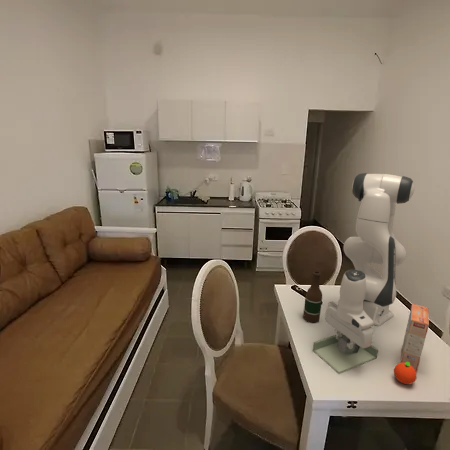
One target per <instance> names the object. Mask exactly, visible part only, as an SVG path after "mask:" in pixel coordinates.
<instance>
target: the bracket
mask: <svg viewBox="0 0 450 450" xmlns="http://www.w3.org/2000/svg"><path fill="white" fill-rule="evenodd" d="M347 343H350V339H349V338H341V337H340V339H339V342H338V344H337V347H338V348H339V349H340V350H342V351H343V352H344V353H358V350H359V348H360V346H359V345H357V344H356V343H355V344H354V345H353V348H352V349H349V348H348V347H347Z"/></svg>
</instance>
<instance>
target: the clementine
mask: <svg viewBox="0 0 450 450" xmlns="http://www.w3.org/2000/svg"><path fill="white" fill-rule="evenodd" d="M393 373H394V376H395V378H396V379H397V381H399V382H400V383H401V384H405V385H410V384H411V385H412V384H413V383H414V382H415V381H416V380H417V373H416V371H415V369H414V368H413V367H412V366H411V365H410V362H406V363H403V362H402V363H400V362H399V363H397V364H396V365H395V366H394V368H393Z"/></svg>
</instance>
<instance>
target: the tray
mask: <svg viewBox="0 0 450 450" xmlns="http://www.w3.org/2000/svg"><path fill="white" fill-rule="evenodd" d="M341 335H342V336H343V337H342V338H348V337H346V336H345V335H343V334H342V333H341ZM336 336H337V335H336V334H333V335H331V336H327V337H325V338H322V339H319V340H315V341H313V344H312V345H313V347H312V352H314V353H315V354H316V355H317V356H318V357H320V359H321V360H323V362H325V363H326V364H327V365H328V366H329V367H331V369H333V370H334V371H335V372H336V373H337V374H338V375H340V374H342V373H344V372H347V371H349V370H352V369H355V368H356V367H359V366H362V365H364V364H366V363H369V362H371V361H374V360H376V359H377V358H378V354H379V349H378V348H376V346H374V345H372V344H371V346H369V347H367V348H364V349H363V348H361V347H360V348H359V350H358V353H344V352H343V351H342V350H340V349H339V348H338V347H337V344H338V342H339V340H337V339H336Z"/></svg>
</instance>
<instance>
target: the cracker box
mask: <svg viewBox="0 0 450 450" xmlns="http://www.w3.org/2000/svg"><path fill="white" fill-rule="evenodd" d="M429 315H430V313H429V307H427V306H423V305H419V304H415V303H412V304H411V306H410V312H409V316H408V320H407V324H406V329H405V333H404V337H403V341H402V345H401V351H400V352H401V353H400V362H399V363H402V362H403V363H406V362H410V365H411V366H412V367H413V368H414V369H415V371H416V374H417V372H418V368H419V366H420V361H421V357H422V354H423V349H424V345H425V341H426V338H427V334H428V330H429V326H430V323H429V321H430V319H429V317H430V316H429Z"/></svg>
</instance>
